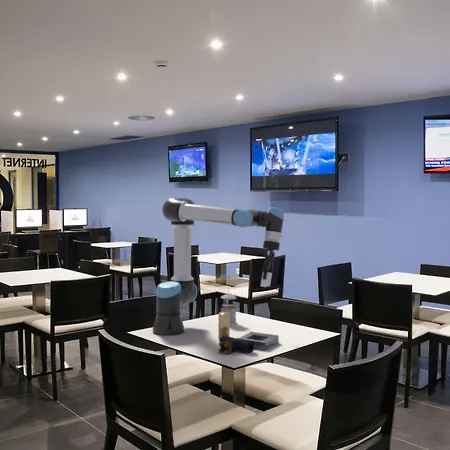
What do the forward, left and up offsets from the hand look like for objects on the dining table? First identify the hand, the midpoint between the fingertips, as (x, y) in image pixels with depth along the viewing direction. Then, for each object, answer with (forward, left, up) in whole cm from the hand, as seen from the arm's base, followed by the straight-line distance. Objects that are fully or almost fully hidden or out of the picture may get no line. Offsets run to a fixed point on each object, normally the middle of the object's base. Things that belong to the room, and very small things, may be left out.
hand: (265, 286), depth 236 cm
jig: (+2, -12, -24) cm, 27 cm away
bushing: (-15, -12, -24) cm, 31 cm away
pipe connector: (-3, -28, -24) cm, 37 cm away
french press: (-29, +18, -24) cm, 42 cm away
